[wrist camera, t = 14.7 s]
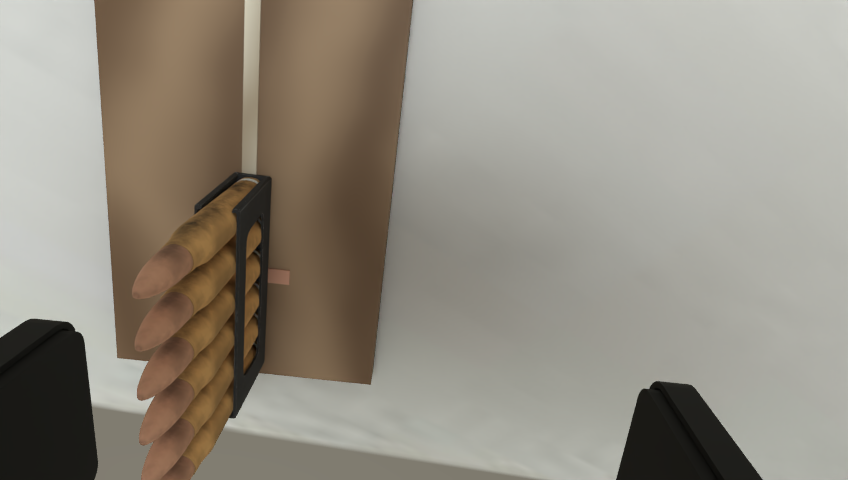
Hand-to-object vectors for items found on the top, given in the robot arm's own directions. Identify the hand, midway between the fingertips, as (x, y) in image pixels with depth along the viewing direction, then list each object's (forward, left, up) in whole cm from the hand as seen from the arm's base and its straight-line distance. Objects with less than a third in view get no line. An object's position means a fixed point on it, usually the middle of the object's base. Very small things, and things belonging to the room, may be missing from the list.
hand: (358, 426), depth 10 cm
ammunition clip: (+7, +6, -19) cm, 22 cm away
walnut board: (+7, -2, -21) cm, 22 cm away
